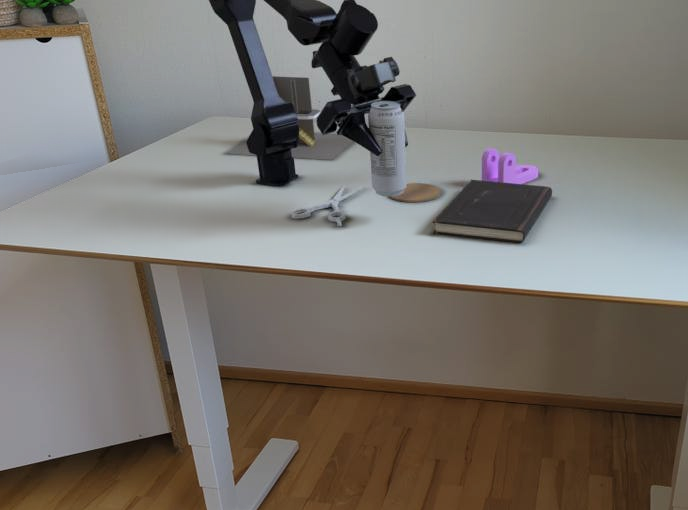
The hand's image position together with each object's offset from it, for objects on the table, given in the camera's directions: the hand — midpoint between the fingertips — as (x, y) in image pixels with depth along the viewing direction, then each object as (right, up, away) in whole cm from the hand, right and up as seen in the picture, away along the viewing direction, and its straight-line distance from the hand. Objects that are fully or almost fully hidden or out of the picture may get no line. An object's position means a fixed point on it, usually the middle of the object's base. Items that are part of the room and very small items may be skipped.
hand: (393, 150), depth 135 cm
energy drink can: (-1, -6, +5) cm, 8 cm away
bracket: (+22, +1, +26) cm, 34 cm away
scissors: (-12, -7, +14) cm, 20 cm away
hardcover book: (+18, -9, +9) cm, 22 cm away
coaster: (+2, -3, +20) cm, 20 cm away
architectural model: (-27, +14, +49) cm, 58 cm away
